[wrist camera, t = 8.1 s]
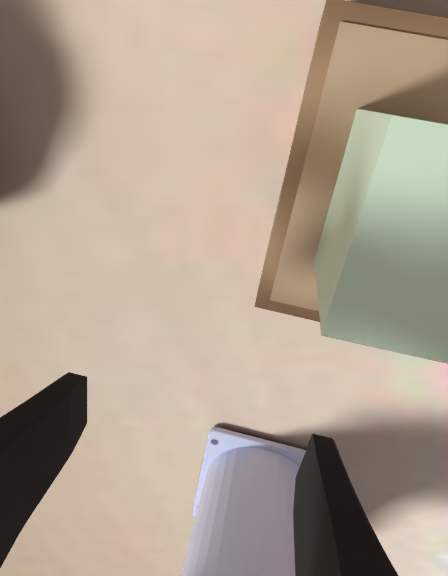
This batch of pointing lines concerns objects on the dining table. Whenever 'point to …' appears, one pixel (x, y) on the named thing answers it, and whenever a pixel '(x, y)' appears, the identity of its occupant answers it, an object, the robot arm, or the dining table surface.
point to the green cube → (388, 239)
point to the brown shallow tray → (346, 127)
